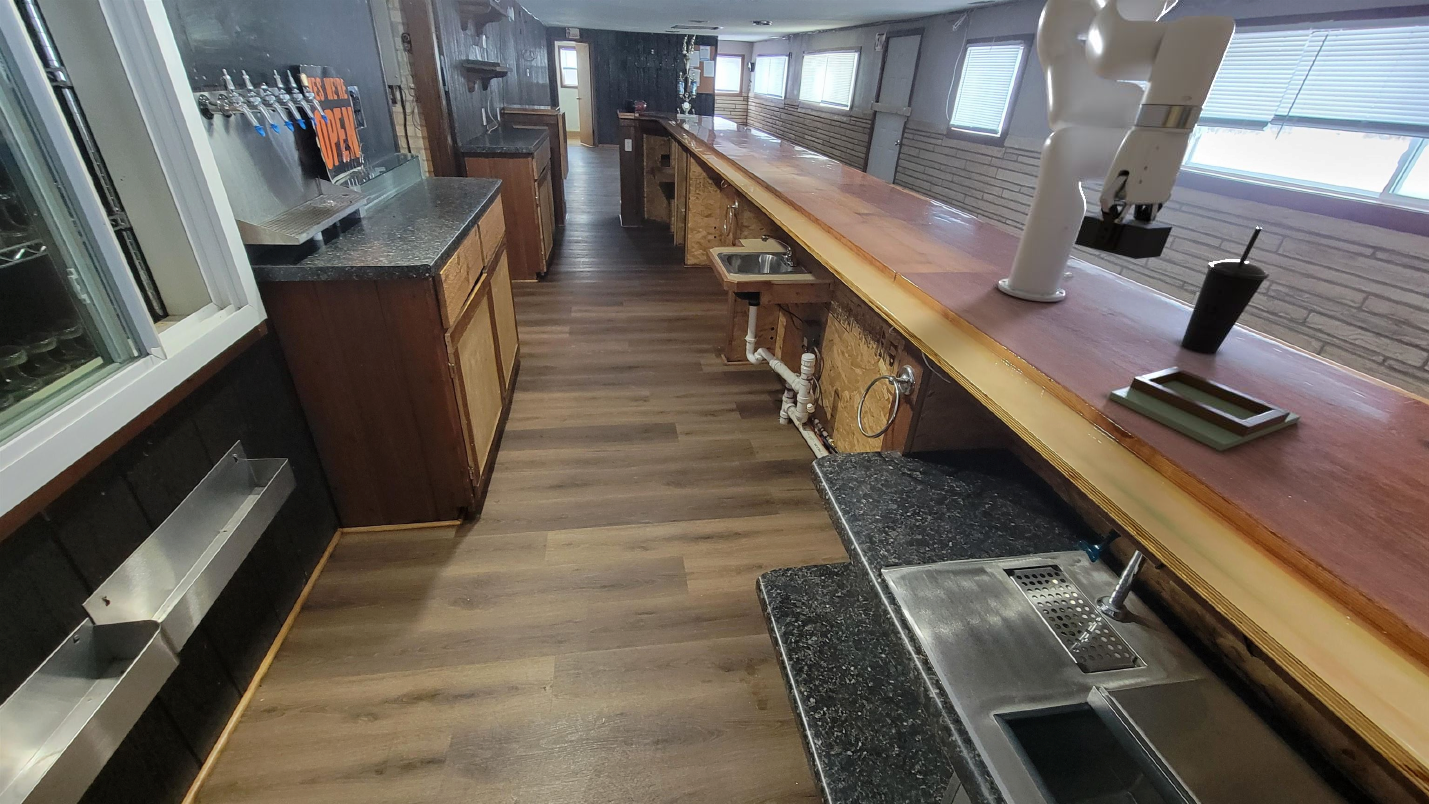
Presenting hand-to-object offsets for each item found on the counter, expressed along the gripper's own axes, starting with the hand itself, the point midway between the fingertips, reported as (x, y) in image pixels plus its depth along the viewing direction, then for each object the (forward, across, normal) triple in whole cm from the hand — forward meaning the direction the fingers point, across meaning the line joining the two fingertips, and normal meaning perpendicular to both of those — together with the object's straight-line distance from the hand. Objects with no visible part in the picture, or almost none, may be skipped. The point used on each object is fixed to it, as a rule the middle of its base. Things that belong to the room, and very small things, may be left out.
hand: (1117, 246), depth 89 cm
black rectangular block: (+1, 0, 0) cm, 1 cm away
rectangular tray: (+17, +7, +22) cm, 29 cm away
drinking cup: (+16, -17, +9) cm, 25 cm away
